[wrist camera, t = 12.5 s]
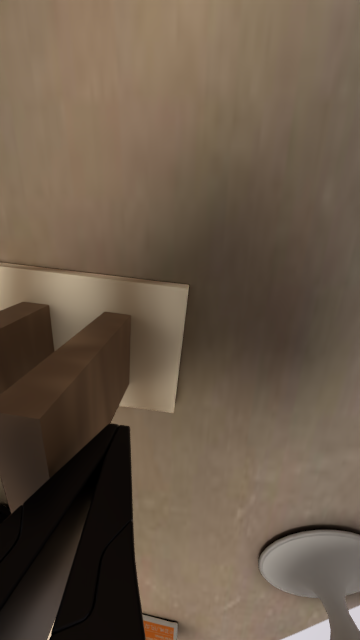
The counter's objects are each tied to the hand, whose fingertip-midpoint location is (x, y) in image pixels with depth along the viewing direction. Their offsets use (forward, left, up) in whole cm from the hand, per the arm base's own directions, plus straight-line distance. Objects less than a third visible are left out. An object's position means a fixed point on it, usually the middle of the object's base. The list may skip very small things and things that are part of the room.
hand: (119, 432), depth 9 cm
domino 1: (+1, +2, -6) cm, 6 cm away
